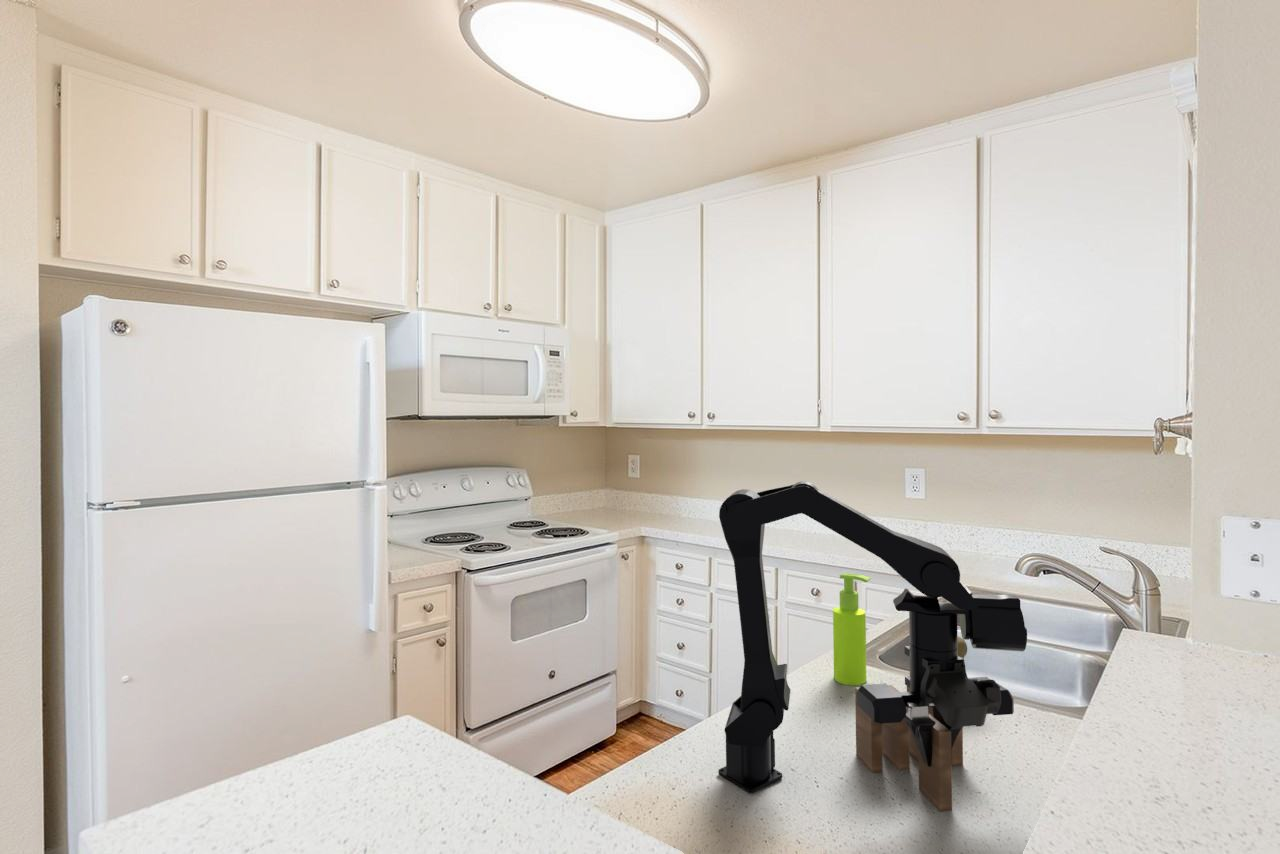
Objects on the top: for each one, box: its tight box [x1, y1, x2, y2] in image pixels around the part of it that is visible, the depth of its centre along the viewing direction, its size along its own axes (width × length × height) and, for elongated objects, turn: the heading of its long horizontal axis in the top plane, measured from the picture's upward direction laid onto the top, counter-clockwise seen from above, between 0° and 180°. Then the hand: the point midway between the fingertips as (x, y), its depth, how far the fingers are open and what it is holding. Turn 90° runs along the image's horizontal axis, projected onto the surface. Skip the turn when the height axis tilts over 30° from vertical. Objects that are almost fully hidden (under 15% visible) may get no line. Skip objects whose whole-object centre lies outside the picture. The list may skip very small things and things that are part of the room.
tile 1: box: [854, 686, 884, 773], centre depth 96 cm, size 2×5×10 cm, turn 7°
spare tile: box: [918, 714, 953, 812], centre depth 86 cm, size 2×5×10 cm, turn 7°
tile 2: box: [882, 684, 911, 771], centre depth 96 cm, size 2×5×10 cm, turn 7°
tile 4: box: [951, 727, 964, 767], centre depth 97 cm, size 2×5×10 cm, turn 6°
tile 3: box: [906, 685, 933, 762], centre depth 97 cm, size 2×5×10 cm, turn 6°
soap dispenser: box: [832, 572, 872, 686], centre depth 126 cm, size 6×7×20 cm
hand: (934, 764), depth 86 cm, fingers closed on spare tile, 2 cm apart
